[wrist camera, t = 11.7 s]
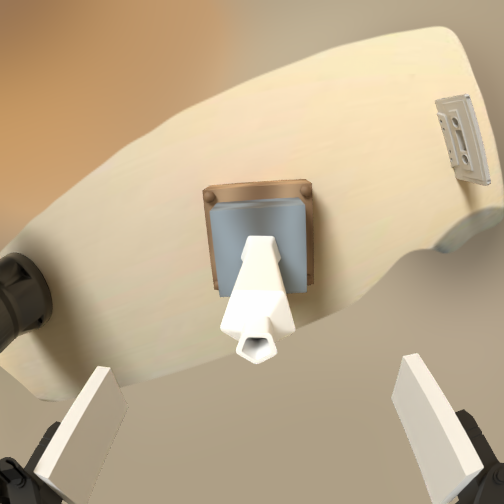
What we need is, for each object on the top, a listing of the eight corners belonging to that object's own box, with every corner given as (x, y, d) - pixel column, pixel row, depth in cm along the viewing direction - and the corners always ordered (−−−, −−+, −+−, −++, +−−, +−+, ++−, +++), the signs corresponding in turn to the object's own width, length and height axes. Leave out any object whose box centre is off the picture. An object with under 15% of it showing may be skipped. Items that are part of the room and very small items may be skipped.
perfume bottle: (237, 274, 30) (215, 378, 16) (237, 232, 29) (210, 314, 14) (283, 275, 30) (296, 380, 16) (285, 233, 28) (304, 316, 14)
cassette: (431, 100, 32) (461, 94, 25) (440, 98, 32) (471, 92, 24) (453, 180, 35) (484, 187, 28) (462, 176, 35) (493, 184, 28)
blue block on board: (219, 273, 41) (207, 309, 31) (210, 185, 37) (192, 197, 28) (307, 268, 40) (320, 303, 31) (305, 179, 36) (320, 188, 27)
